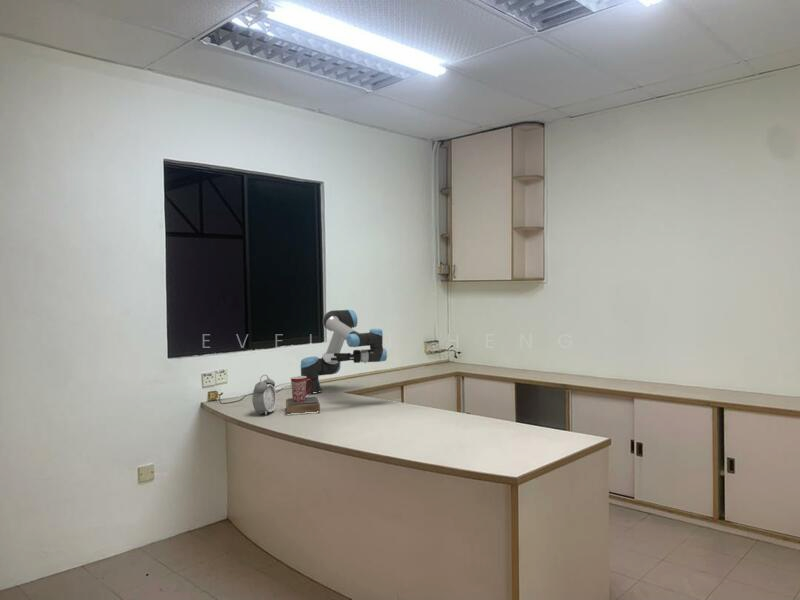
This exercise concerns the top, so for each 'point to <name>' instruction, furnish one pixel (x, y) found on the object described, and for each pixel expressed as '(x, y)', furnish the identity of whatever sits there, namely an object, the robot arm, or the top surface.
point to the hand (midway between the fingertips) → (323, 357)
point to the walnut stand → (302, 405)
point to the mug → (299, 388)
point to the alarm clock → (264, 396)
